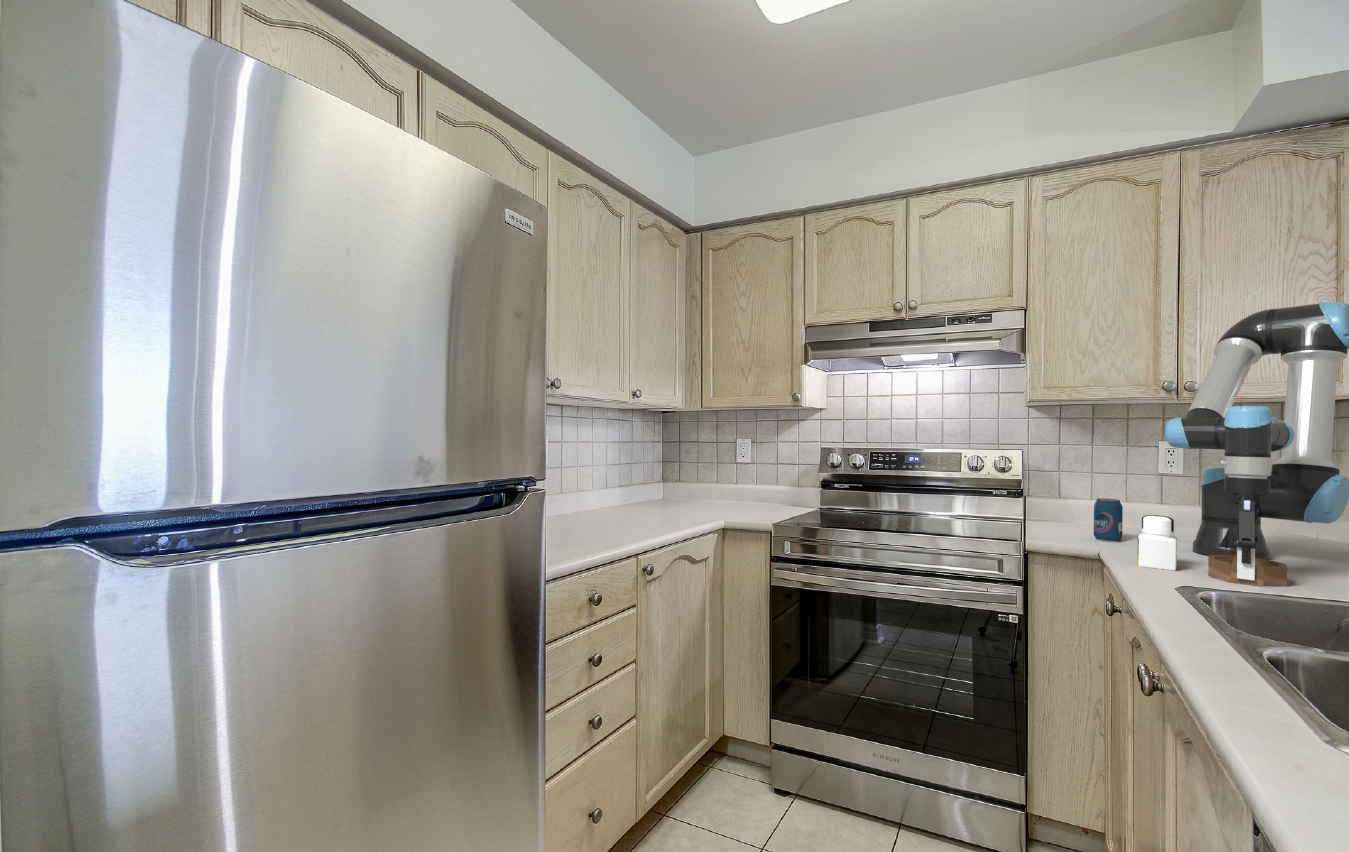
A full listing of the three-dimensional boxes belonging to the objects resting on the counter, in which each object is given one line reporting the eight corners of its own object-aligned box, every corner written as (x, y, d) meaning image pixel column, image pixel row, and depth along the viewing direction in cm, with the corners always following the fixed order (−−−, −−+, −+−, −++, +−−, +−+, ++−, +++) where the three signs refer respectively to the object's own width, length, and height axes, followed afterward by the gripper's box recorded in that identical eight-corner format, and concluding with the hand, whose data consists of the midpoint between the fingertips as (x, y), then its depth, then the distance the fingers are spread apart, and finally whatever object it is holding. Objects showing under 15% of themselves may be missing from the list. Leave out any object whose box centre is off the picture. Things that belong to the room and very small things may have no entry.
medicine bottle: (1139, 562, 153) (1139, 512, 153) (1176, 566, 149) (1177, 515, 149) (1137, 566, 148) (1137, 515, 148) (1176, 571, 143) (1176, 518, 143)
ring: (1245, 572, 142) (1245, 555, 142) (1303, 586, 130) (1303, 567, 130) (1193, 572, 142) (1193, 555, 142) (1246, 586, 129) (1247, 567, 129)
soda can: (1088, 539, 185) (1089, 498, 185) (1101, 537, 188) (1101, 497, 189) (1114, 543, 179) (1114, 501, 179) (1127, 541, 182) (1127, 500, 182)
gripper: (1224, 474, 148) (1223, 564, 148) (1223, 477, 130) (1221, 579, 129) (1268, 476, 143) (1266, 569, 143) (1273, 479, 125) (1271, 586, 124)
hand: (1245, 574), depth 136 cm, fingers open, 13 cm apart
